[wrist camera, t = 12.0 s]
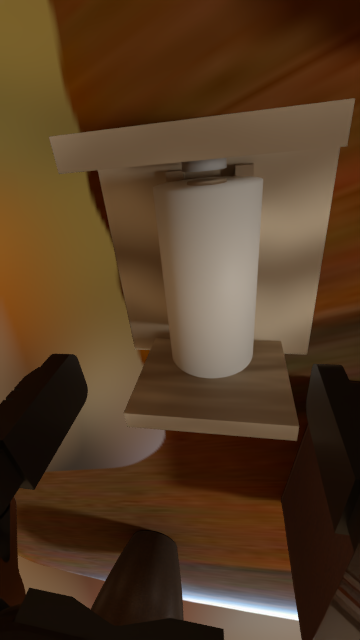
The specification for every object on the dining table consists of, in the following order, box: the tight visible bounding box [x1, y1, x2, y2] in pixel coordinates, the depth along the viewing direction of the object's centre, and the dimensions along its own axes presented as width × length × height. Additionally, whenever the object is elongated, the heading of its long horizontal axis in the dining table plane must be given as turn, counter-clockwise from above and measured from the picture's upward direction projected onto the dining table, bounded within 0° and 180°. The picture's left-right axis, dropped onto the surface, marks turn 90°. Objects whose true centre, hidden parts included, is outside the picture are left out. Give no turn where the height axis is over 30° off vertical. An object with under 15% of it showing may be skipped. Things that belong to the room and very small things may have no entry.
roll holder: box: [49, 98, 355, 441], centre depth 17 cm, size 15×14×10 cm
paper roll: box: [153, 176, 263, 378], centre depth 17 cm, size 11×6×6 cm, turn 4°
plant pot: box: [91, 531, 183, 626], centre depth 41 cm, size 15×15×16 cm
